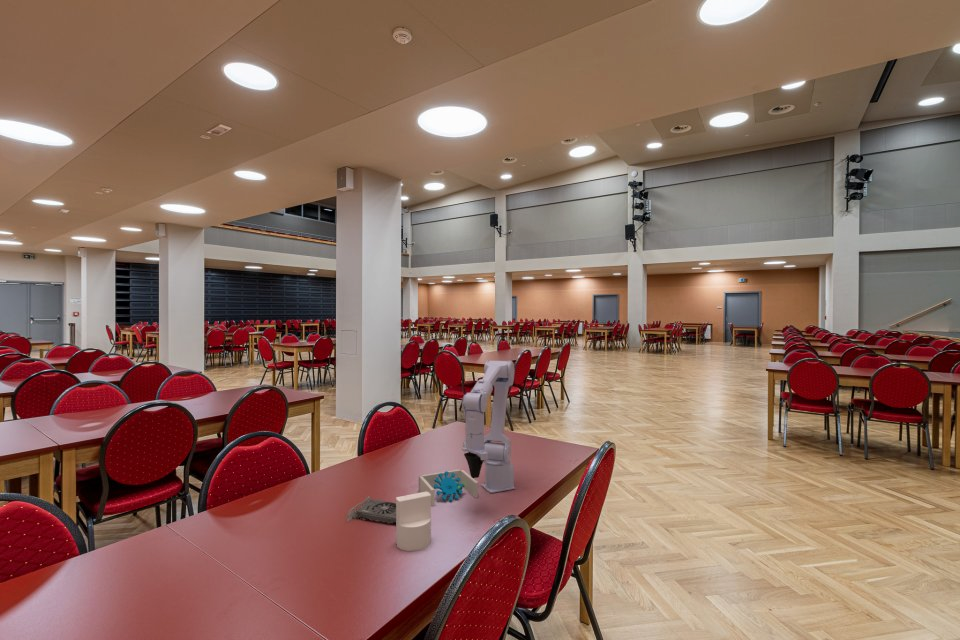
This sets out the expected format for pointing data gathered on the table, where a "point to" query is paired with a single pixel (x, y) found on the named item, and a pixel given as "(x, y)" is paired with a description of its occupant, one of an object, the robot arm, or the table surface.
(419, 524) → the cylinder with rectangular tab
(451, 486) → the blue virus model
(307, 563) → the table surface
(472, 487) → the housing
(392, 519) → the graphics card
